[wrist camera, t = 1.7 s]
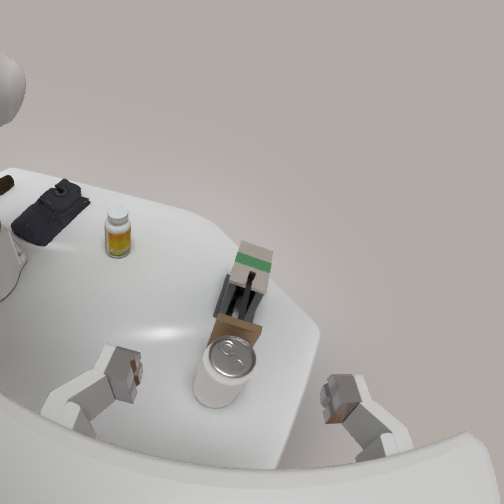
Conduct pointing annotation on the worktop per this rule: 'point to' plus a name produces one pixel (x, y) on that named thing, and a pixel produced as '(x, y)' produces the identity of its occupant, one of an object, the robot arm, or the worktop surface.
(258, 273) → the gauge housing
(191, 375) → the worktop surface
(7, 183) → the hand tool
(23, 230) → the dark folded fabric
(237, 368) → the can
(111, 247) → the supplement bottle
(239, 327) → the gauge plunger
